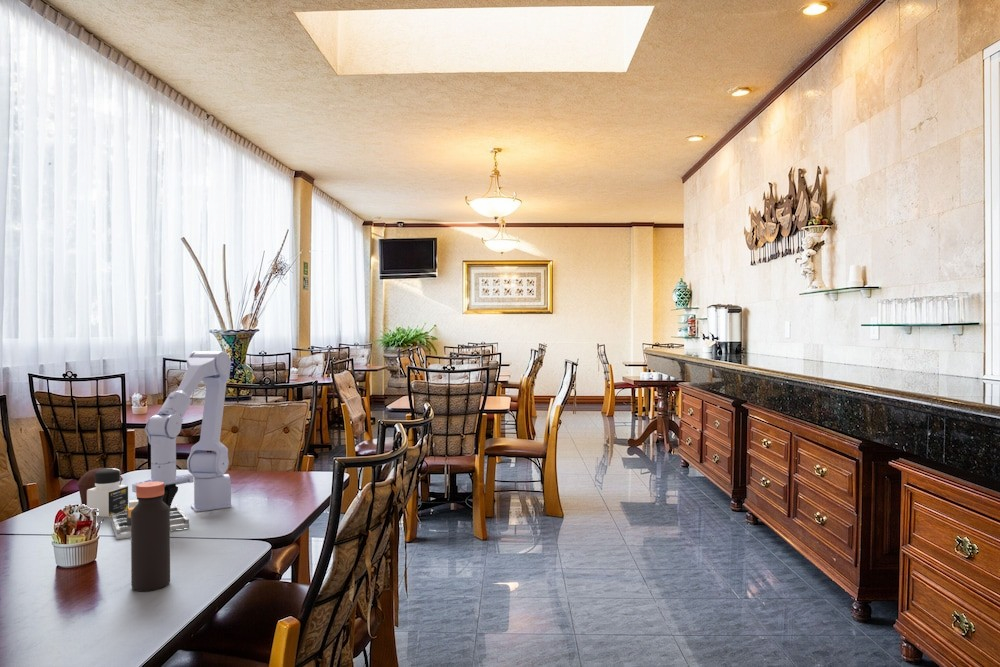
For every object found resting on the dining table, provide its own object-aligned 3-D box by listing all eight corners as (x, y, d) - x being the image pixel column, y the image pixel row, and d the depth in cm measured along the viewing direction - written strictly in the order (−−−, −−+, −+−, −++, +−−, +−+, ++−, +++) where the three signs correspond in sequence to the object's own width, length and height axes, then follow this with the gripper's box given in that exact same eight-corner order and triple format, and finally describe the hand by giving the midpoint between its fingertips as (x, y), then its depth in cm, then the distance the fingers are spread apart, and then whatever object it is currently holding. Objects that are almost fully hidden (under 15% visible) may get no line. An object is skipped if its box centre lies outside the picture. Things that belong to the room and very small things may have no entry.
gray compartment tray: (177, 512, 187) (177, 504, 187) (189, 528, 172) (189, 519, 172) (110, 521, 178) (110, 513, 178) (116, 539, 163) (116, 530, 163)
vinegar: (129, 594, 129) (129, 489, 129) (133, 582, 135) (132, 482, 135) (169, 588, 132) (168, 486, 132) (170, 577, 138) (170, 479, 138)
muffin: (67, 506, 193) (67, 471, 193) (103, 497, 204) (103, 464, 203) (97, 510, 189) (96, 474, 189) (132, 501, 199) (131, 467, 199)
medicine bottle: (109, 517, 182) (108, 472, 182) (86, 516, 183) (86, 471, 183) (128, 510, 189) (128, 467, 189) (106, 509, 190) (106, 466, 190)
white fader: (140, 515, 178) (140, 499, 178) (141, 518, 176) (141, 501, 176) (127, 517, 177) (127, 500, 177) (128, 520, 174) (128, 502, 174)
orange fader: (140, 523, 171) (140, 506, 171) (141, 526, 169) (141, 508, 169) (126, 525, 169) (126, 507, 169) (127, 528, 167) (127, 510, 167)
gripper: (184, 455, 181) (184, 506, 181) (126, 464, 170) (127, 518, 170) (197, 459, 176) (197, 511, 177) (139, 468, 165) (139, 523, 165)
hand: (164, 515), depth 173 cm, fingers closed
